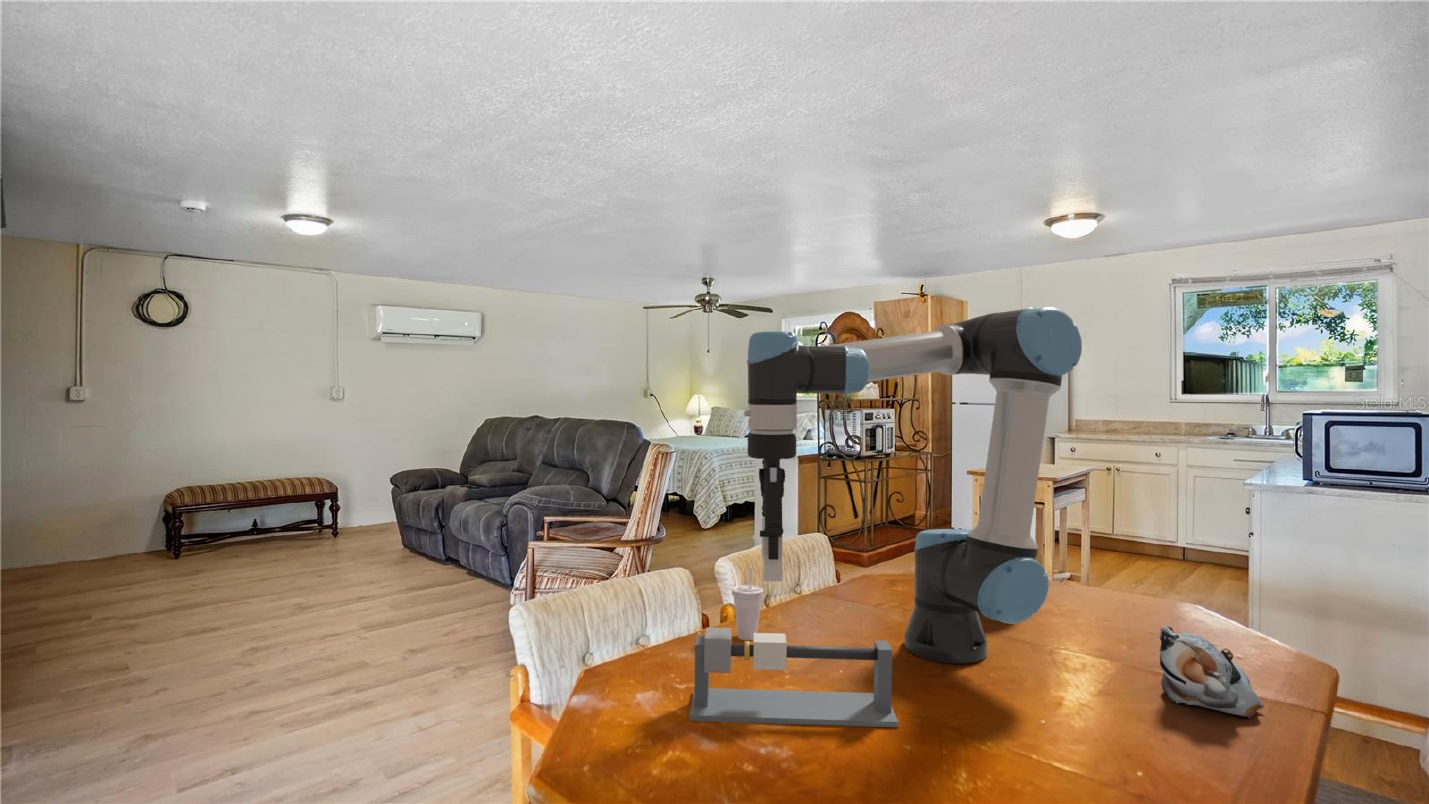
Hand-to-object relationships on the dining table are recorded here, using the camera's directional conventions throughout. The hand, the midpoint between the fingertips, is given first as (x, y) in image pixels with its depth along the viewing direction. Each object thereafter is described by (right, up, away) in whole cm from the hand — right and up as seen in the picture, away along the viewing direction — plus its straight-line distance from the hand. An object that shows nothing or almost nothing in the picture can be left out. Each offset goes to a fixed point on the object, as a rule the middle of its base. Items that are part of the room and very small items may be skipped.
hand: (771, 568), depth 113 cm
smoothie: (-2, -21, +33) cm, 39 cm away
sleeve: (0, -15, 0) cm, 15 cm away
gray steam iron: (+70, -23, +3) cm, 74 cm away
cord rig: (+3, -22, 0) cm, 22 cm away
